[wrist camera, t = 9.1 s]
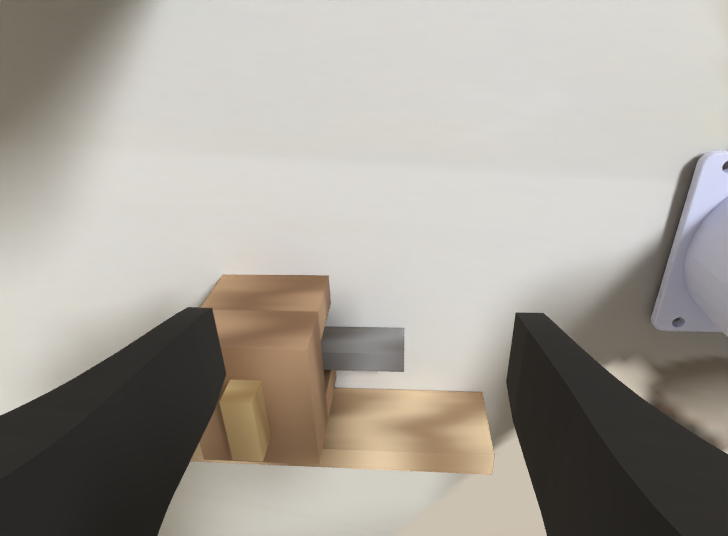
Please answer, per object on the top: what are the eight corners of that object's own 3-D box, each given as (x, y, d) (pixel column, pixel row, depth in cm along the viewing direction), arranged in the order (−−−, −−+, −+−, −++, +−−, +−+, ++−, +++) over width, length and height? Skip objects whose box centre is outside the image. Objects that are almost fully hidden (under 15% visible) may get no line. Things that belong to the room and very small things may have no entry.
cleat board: (488, 329, 23) (503, 388, 19) (480, 409, 25) (491, 474, 22) (126, 322, 24) (79, 375, 21) (150, 398, 27) (112, 458, 23)
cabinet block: (328, 275, 22) (300, 371, 16) (336, 376, 25) (314, 489, 19) (223, 274, 23) (158, 367, 17) (242, 374, 26) (193, 484, 20)
